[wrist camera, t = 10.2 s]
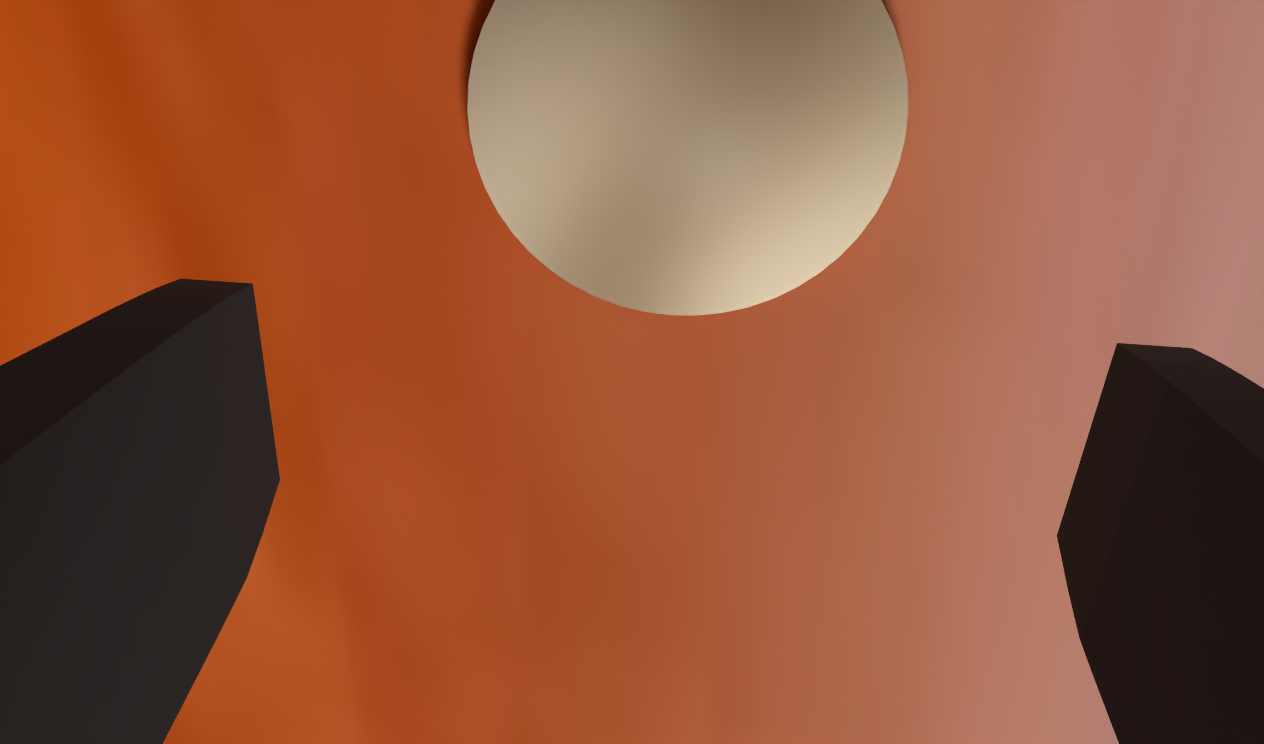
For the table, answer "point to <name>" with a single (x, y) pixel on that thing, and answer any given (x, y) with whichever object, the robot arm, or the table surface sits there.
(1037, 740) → the table surface
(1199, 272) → the table surface
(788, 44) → the coaster
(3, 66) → the table surface
